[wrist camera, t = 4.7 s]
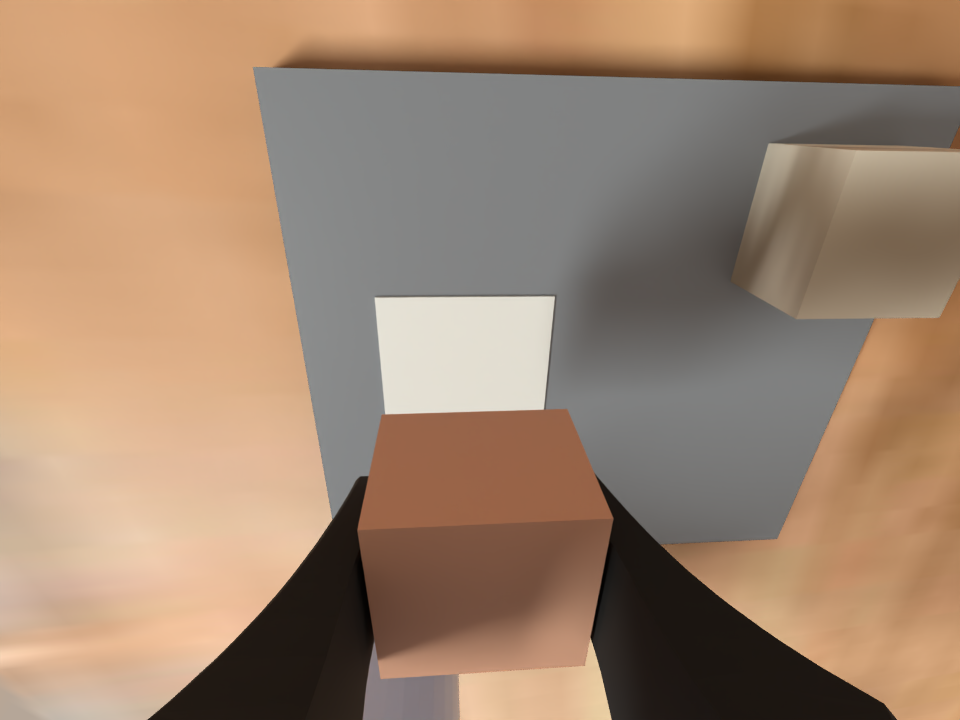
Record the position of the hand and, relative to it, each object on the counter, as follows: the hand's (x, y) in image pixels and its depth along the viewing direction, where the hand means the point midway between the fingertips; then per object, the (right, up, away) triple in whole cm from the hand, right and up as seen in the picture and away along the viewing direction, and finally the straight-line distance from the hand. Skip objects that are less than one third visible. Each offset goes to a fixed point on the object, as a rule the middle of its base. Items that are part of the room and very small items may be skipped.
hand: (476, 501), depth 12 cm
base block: (0, 0, 0) cm, 1 cm away
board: (+4, +4, +7) cm, 9 cm away
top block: (+12, +9, +4) cm, 15 cm away
